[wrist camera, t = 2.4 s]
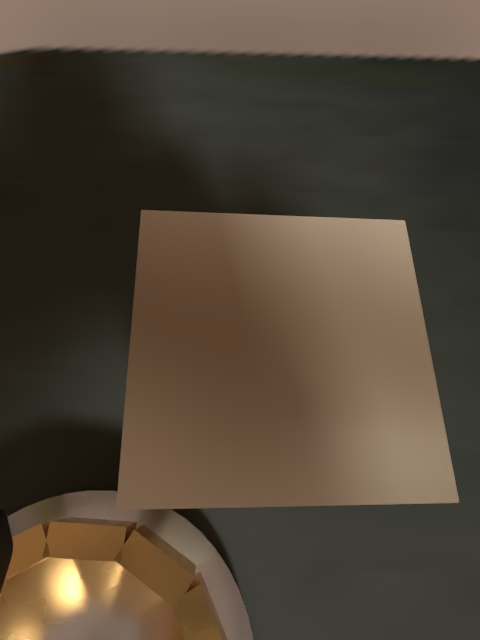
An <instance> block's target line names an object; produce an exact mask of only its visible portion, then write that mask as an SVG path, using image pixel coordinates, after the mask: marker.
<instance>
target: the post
mask: <svg viewBox="0 0 480 640" xmlns="http://www.w3.org/2000/svg"><path fill="white" fill-rule="evenodd" d="M425 503H459V499H458V493H457V488H456V483H455V478H454V473H453V467H452V462H451V457H450V452H449V447H448V441H447V436H446V431H445V426H444V421H443V416H442V410H441V405H440V400H439V395H438V390H437V384H436V379H435V374H434V369H433V364H432V358H431V353H430V348H429V343H428V338H427V332H426V327H425V322H424V317H423V312H422V307H421V301H420V296H419V291H418V286H417V281H416V275H415V270H414V265H413V260H412V255H411V249H410V244H409V239H408V234H407V229H406V224H405V221H404V220H379V219H355V218H330V217H305V216H280V215H255V214H231V213H206V212H181V211H156V210H141V218H140V229H139V241H138V253H137V265H136V277H135V289H134V301H133V313H132V324H131V336H130V348H129V360H128V372H127V384H126V396H125V408H124V419H123V431H122V443H121V455H120V467H119V479H118V491H117V503H116V510H146V509H192V508H239V507H285V506H332V505H378V504H425Z"/></svg>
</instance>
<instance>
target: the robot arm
mask: <svg viewBox="0 0 480 640" xmlns="http://www.w3.org/2000/svg"><path fill="white" fill-rule="evenodd" d="M12 553H13V539H12V535H11V530H10V526H9V521H8V517H7V514H6V512H5V511H4V510H3V509H0V593H1V590H2V587H3V584H4V581H5V577H6V574H7V571H8V568H9V564H10V561H11V558H12Z"/></svg>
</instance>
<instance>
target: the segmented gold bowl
mask: <svg viewBox="0 0 480 640" xmlns="http://www.w3.org/2000/svg"><path fill="white" fill-rule="evenodd" d="M116 503H117V491H82V492H74V493H67V494H63V495H59V496H55V497H52V498H48V499H44V500H42V501H39V502H37V503H35V504H32V505H30V506H27V507H25V508H22V509H21V510H19V511H17V512H15V513H13V514H12V515H10V516H8V521H9V526H10V530H11V535H12V539H13V553H12V558H11V561H10V564H9V568H8V571H7V574H6V577H5V581H4V584H3V587H2V590H1V593H0V640H253V636H252V632H251V627H250V623H249V618H248V614H247V611H246V608H245V606H244V603H243V600H242V597H241V594H240V591H239V589H238V586H237V584H236V582H235V580H234V578H233V576H232V574H231V572H230V570H229V568H228V566H227V564H226V563H225V561H224V560H223V558H222V557H221V555H220V554H219V552H218V551H217V549H216V548H215V546H214V545H213V544H212V543H211V542H210V541H209V539H208V538H207V537H206V536H205V535H204V534H203V532H202V531H201V530H199V529H198V528H197V527H196V526H195V525H194V524H193V523H191V522H190V521H189V520H188V519H187V518H185V517H184V516H182V515H181V514H179V513H178V512H176V511H175V510H173V509H146V510H116Z"/></svg>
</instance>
